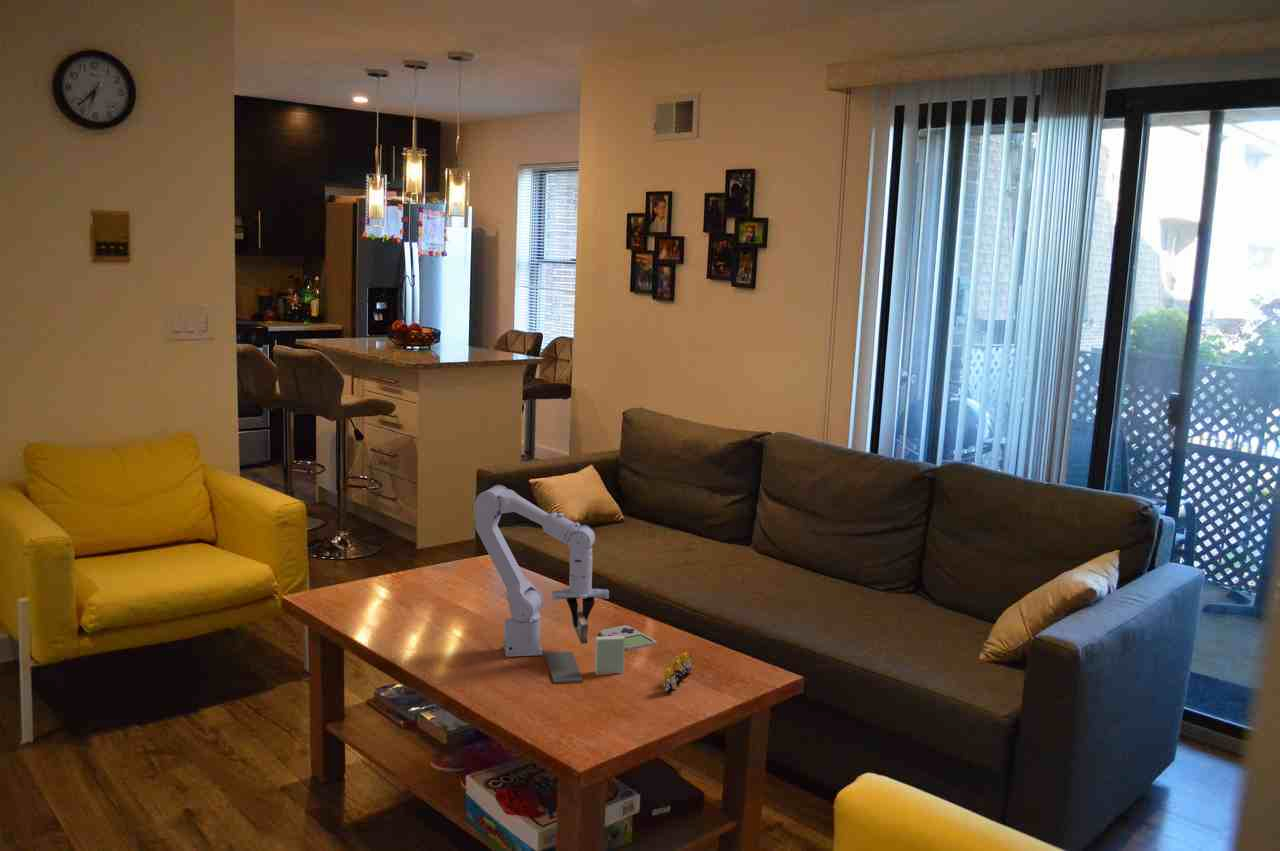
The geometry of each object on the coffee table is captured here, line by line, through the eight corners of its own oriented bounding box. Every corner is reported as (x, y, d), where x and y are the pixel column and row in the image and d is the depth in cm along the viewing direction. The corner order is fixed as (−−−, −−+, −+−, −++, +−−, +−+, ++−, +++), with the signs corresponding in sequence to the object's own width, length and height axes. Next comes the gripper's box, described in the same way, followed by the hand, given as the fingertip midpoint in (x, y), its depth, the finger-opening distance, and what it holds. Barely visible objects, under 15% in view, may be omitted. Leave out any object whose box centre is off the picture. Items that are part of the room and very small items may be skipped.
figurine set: (658, 695, 246) (659, 668, 245) (681, 671, 261) (682, 646, 260) (671, 697, 245) (672, 671, 244) (694, 673, 260) (695, 648, 259)
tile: (596, 674, 257) (597, 639, 256) (594, 671, 259) (595, 636, 258) (623, 673, 258) (625, 638, 257) (622, 670, 260) (623, 635, 259)
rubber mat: (553, 683, 250) (553, 681, 250) (544, 655, 269) (544, 652, 269) (582, 682, 252) (582, 679, 252) (571, 653, 270) (571, 651, 270)
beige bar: (580, 643, 259) (581, 624, 259) (571, 622, 275) (572, 603, 274) (587, 643, 260) (587, 624, 259) (578, 621, 275) (578, 603, 274)
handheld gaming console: (627, 623, 292) (657, 640, 279) (627, 629, 292) (657, 646, 280) (596, 629, 286) (626, 646, 274) (596, 635, 286) (626, 652, 274)
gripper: (554, 579, 260) (553, 632, 262) (611, 578, 263) (610, 629, 265) (550, 571, 266) (549, 622, 268) (606, 570, 269) (605, 620, 271)
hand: (579, 625), depth 267 cm, fingers closed on beige bar, 2 cm apart
